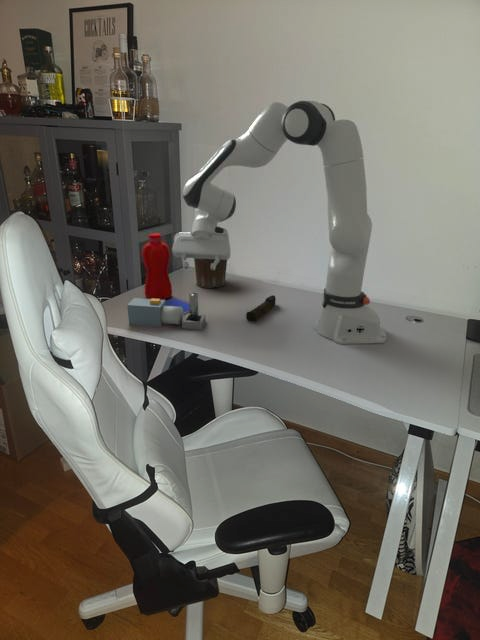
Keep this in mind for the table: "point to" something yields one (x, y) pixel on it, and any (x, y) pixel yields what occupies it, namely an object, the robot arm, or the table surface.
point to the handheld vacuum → (160, 314)
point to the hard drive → (179, 304)
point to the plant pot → (210, 273)
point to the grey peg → (193, 306)
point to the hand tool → (261, 309)
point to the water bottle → (156, 268)
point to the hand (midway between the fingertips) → (199, 268)
